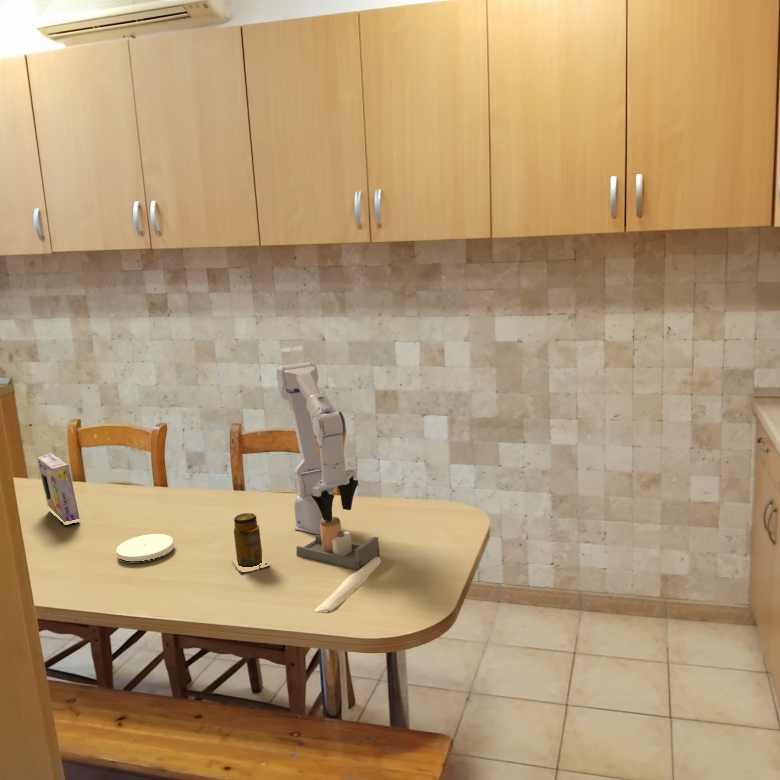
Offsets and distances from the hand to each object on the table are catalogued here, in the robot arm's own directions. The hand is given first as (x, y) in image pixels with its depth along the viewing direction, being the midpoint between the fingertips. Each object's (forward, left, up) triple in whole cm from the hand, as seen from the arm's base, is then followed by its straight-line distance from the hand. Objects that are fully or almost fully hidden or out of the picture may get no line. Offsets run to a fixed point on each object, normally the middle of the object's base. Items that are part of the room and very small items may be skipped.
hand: (337, 514), depth 194 cm
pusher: (+3, -3, -9) cm, 10 cm away
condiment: (-15, -16, -10) cm, 24 cm away
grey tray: (+2, -3, -9) cm, 10 cm away
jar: (0, -3, -9) cm, 9 cm away
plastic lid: (-45, -23, -10) cm, 51 cm away
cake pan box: (-90, -17, -10) cm, 92 cm away
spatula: (+14, -13, -10) cm, 22 cm away
